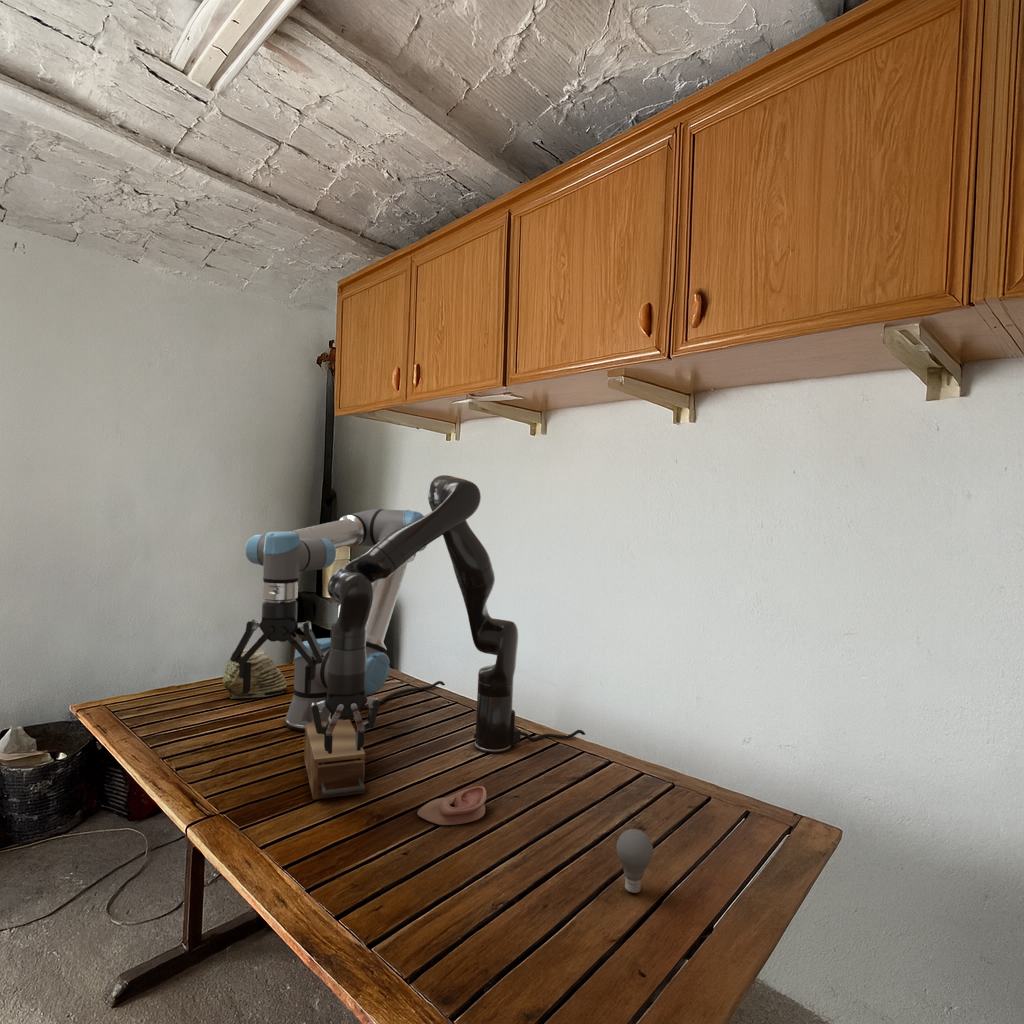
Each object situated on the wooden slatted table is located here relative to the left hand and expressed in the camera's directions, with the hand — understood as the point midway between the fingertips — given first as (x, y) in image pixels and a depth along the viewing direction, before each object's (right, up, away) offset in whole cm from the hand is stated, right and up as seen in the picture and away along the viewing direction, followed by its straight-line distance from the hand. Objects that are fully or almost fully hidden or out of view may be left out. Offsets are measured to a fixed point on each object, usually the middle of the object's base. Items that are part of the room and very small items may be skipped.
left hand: (277, 693), depth 144 cm
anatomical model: (+41, -20, -15) cm, 48 cm away
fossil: (-27, -16, +54) cm, 62 cm away
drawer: (+14, -18, -4) cm, 23 cm away
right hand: (+19, -8, -14) cm, 25 cm away
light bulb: (+74, -22, -38) cm, 86 cm away
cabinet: (+12, -19, 0) cm, 23 cm away
